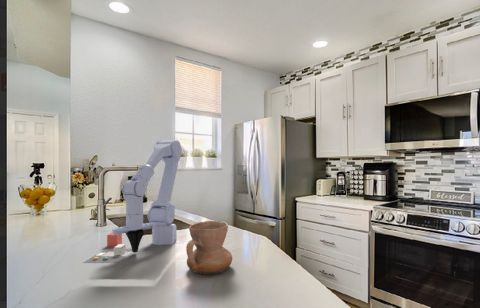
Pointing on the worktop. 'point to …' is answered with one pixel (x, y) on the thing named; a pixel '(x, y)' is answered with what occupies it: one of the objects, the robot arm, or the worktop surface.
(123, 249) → the block
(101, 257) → the breaker panel
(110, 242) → the block
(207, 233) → the ceramic jug
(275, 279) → the worktop surface
